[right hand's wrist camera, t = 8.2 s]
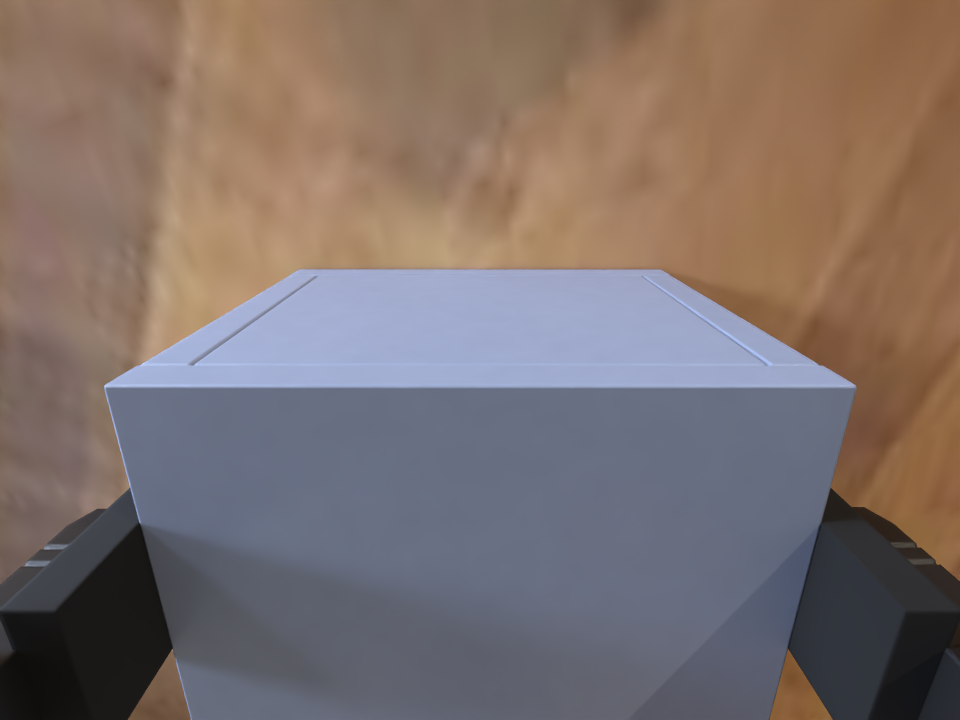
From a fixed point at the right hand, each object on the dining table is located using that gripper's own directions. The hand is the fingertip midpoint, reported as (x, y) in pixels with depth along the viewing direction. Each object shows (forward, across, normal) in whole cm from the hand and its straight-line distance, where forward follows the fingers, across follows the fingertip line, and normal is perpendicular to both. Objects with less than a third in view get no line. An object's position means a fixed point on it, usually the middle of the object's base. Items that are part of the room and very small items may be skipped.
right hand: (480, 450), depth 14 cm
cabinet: (+4, 0, -6) cm, 7 cm away
